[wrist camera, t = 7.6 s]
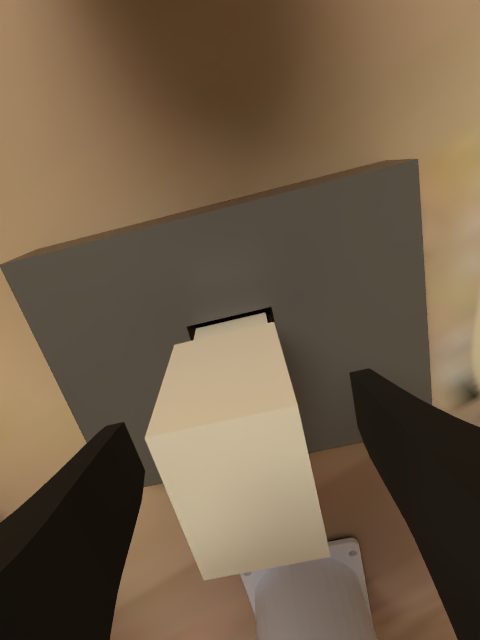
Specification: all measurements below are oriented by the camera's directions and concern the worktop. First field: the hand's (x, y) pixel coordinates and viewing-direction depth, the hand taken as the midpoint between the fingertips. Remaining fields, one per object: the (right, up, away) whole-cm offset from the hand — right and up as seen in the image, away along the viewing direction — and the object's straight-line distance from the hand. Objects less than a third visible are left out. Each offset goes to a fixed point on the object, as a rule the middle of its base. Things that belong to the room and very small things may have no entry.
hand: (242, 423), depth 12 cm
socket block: (0, +3, +7) cm, 8 cm away
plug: (0, +2, +5) cm, 5 cm away
